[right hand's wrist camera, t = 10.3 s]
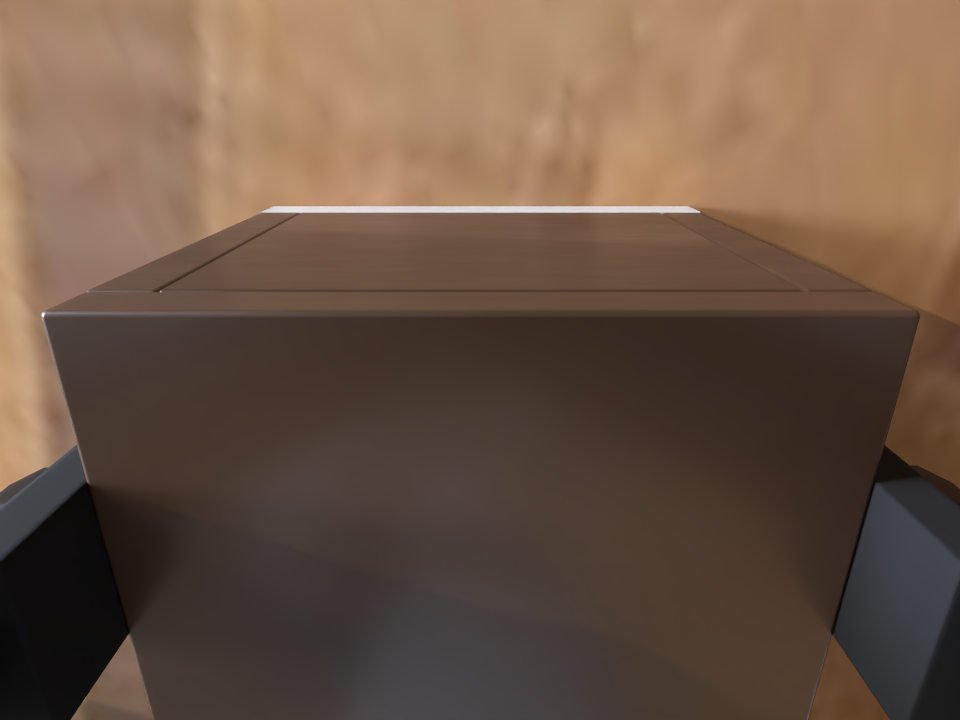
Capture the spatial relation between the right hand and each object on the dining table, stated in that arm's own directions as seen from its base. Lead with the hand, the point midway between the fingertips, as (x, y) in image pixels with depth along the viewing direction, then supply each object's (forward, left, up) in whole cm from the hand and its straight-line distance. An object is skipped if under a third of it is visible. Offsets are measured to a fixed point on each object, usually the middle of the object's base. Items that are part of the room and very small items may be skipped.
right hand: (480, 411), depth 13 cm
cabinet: (+2, -3, -4) cm, 5 cm away
